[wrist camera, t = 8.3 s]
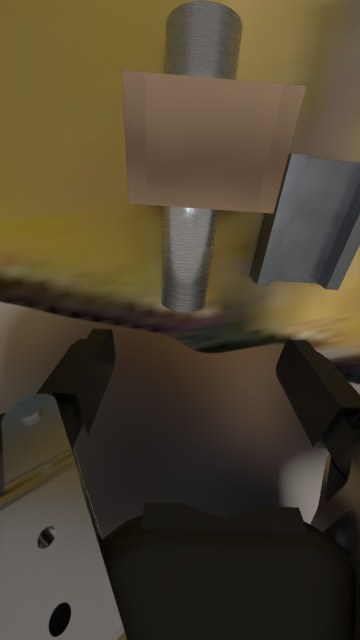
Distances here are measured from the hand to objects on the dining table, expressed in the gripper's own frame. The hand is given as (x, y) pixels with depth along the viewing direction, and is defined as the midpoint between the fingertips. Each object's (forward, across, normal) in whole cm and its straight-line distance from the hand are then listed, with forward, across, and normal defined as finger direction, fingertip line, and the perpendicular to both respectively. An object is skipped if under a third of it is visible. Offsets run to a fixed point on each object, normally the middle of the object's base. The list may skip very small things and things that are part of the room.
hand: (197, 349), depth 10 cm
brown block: (+14, 0, -8) cm, 16 cm away
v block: (+14, -10, -4) cm, 18 cm away
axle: (+14, 0, -6) cm, 15 cm away
